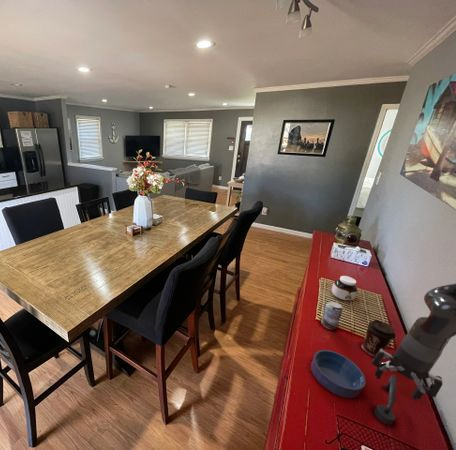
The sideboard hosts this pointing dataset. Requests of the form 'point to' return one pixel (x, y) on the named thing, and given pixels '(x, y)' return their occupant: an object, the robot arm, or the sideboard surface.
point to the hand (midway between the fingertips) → (395, 386)
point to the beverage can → (331, 315)
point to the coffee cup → (377, 337)
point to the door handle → (385, 412)
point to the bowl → (337, 374)
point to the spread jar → (344, 288)
